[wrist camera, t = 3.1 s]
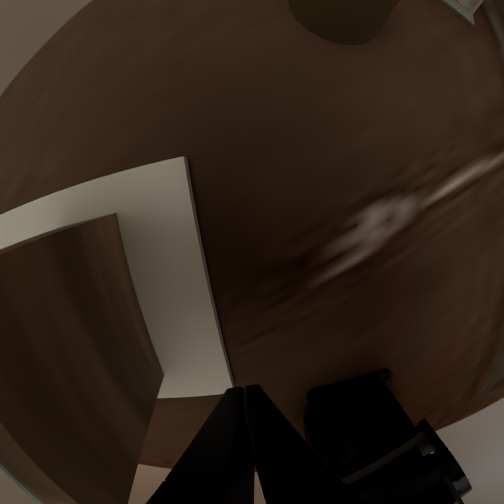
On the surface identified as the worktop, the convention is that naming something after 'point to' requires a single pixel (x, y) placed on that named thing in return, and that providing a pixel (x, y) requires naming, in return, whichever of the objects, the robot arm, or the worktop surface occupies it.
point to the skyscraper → (463, 8)
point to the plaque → (73, 366)
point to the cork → (343, 18)
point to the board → (150, 264)
